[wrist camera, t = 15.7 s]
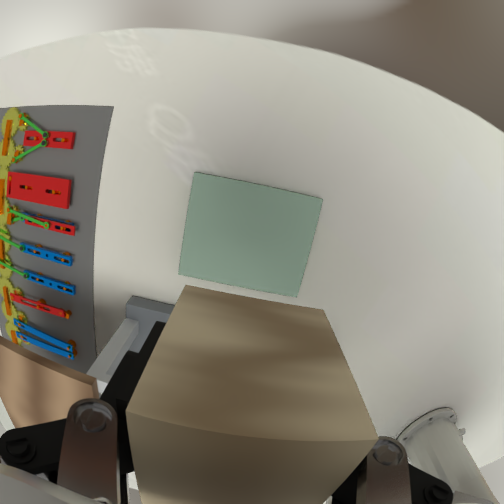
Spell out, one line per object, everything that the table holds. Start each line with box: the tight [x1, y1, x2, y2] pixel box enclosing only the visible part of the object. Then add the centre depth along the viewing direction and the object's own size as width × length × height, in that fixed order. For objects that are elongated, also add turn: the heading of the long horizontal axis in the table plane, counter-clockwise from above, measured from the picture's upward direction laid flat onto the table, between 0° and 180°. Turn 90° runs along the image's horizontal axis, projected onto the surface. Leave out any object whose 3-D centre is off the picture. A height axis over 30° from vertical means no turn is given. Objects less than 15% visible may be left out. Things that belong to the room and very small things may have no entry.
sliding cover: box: [0, 336, 100, 428], centre depth 19 cm, size 15×15×4 cm
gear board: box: [0, 105, 114, 398], centre depth 30 cm, size 45×2×19 cm
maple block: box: [126, 285, 379, 504], centre depth 8 cm, size 5×5×6 cm
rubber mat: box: [178, 172, 323, 297], centre depth 28 cm, size 12×10×1 cm
